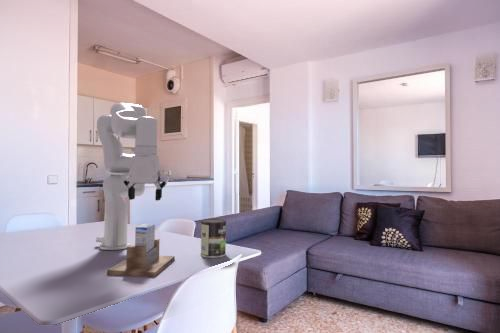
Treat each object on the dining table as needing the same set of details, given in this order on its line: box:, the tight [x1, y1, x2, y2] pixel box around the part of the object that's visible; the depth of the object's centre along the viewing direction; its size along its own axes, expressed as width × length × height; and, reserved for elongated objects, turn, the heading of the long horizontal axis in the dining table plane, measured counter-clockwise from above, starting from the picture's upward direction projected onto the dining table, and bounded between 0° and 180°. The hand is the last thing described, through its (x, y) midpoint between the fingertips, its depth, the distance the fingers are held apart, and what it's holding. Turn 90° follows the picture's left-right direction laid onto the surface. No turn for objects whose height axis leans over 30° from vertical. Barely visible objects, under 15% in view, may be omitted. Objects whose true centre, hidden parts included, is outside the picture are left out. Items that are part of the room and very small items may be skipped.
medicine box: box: [134, 223, 156, 252], centre depth 115 cm, size 8×4×9 cm, turn 179°
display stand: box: [106, 238, 176, 278], centre depth 115 cm, size 16×20×8 cm
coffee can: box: [200, 218, 227, 259], centre depth 133 cm, size 10×10×14 cm
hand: (144, 199), depth 115 cm, fingers open, 9 cm apart
